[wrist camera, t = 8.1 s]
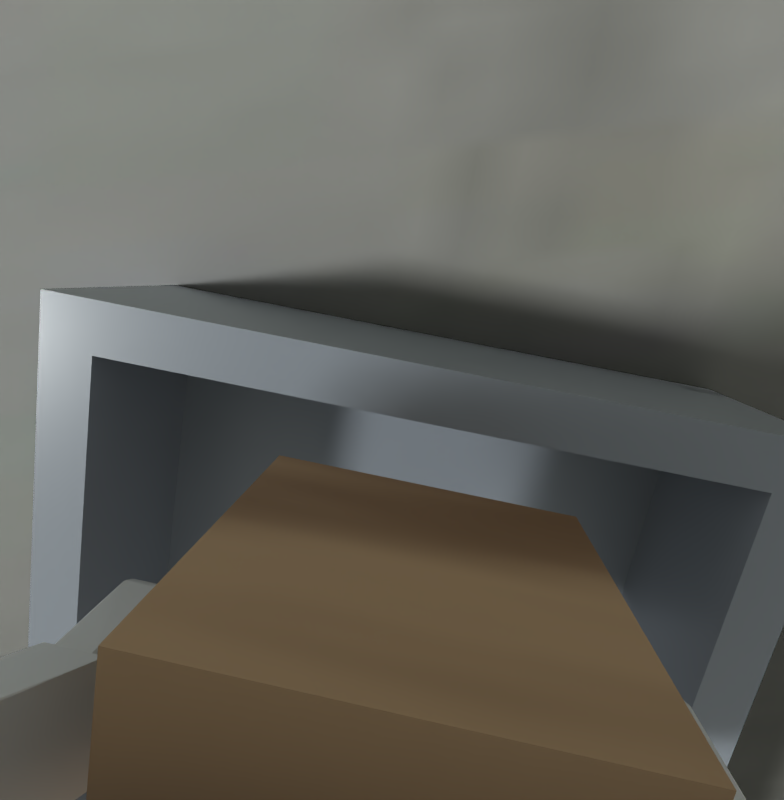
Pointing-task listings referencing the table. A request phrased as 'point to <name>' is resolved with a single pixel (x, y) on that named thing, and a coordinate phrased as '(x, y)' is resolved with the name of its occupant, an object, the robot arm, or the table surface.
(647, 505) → the tote
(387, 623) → the tan cube
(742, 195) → the table surface
